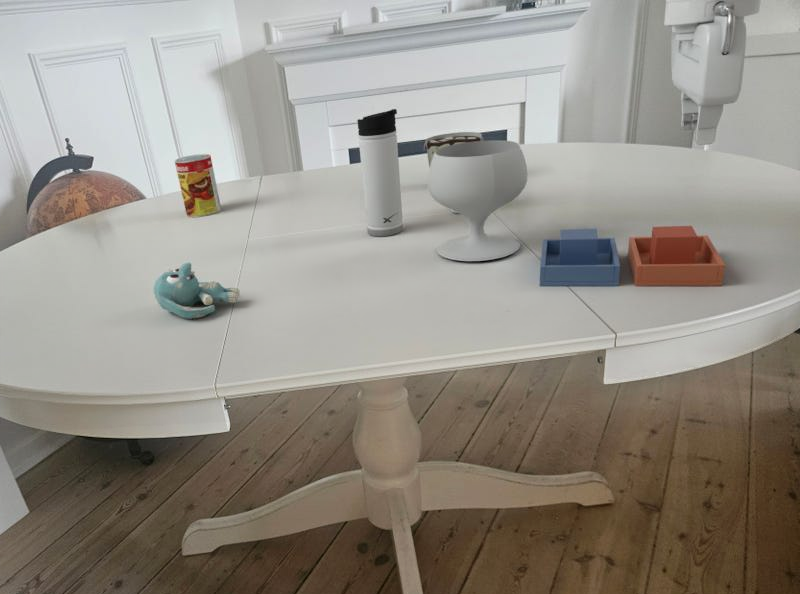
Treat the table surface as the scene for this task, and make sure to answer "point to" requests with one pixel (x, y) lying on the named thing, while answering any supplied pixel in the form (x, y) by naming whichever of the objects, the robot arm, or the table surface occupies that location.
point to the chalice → (477, 193)
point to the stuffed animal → (190, 293)
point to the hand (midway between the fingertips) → (696, 135)
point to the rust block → (673, 245)
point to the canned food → (198, 185)
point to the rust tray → (676, 266)
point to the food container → (449, 141)
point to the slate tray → (580, 266)
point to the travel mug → (380, 173)
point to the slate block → (578, 247)
